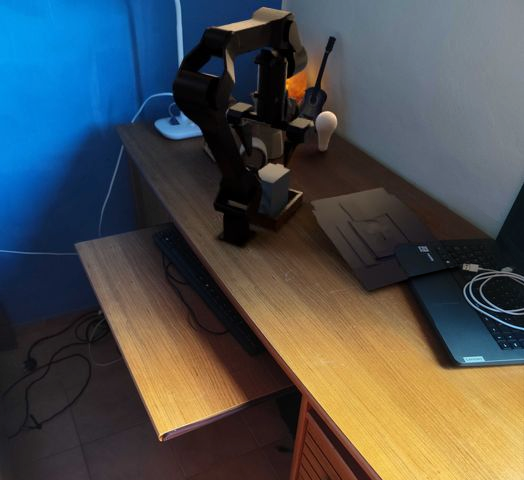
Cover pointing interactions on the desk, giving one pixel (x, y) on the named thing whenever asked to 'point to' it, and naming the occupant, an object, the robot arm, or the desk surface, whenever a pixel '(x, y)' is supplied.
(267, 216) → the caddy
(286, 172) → the tabbed grey block
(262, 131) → the coffeepot
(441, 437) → the desk surface
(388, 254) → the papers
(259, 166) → the ceramic mug
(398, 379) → the desk surface
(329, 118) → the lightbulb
